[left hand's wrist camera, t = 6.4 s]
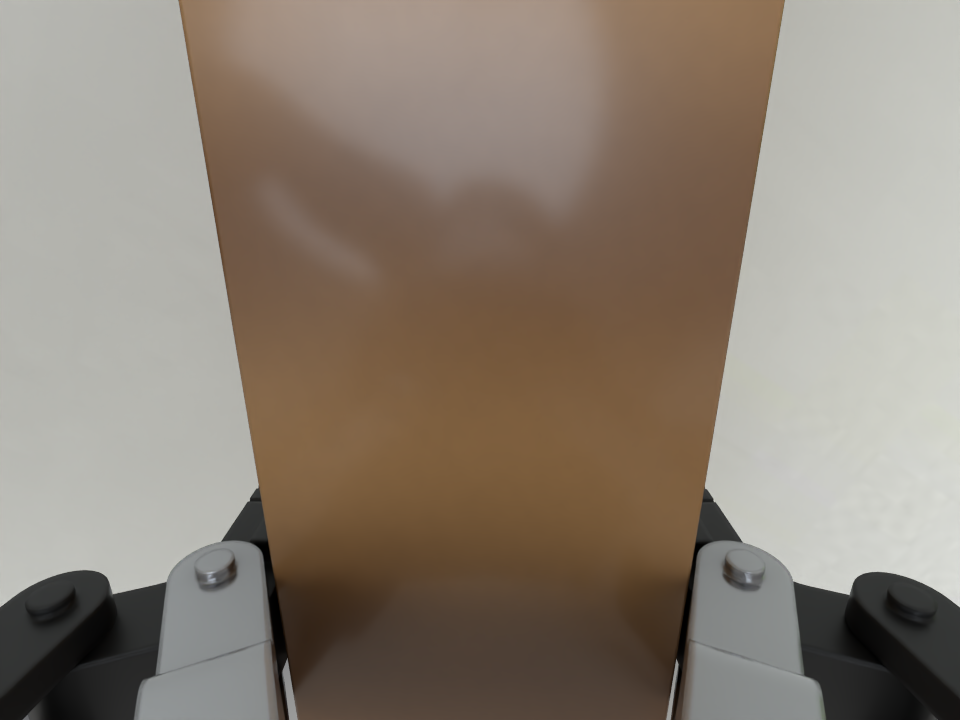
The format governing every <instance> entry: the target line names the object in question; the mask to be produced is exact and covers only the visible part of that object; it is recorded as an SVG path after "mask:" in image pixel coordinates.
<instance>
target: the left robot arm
mask: <svg viewBox="0 0 960 720" xmlns="http://www.w3.org/2000/svg"><path fill="white" fill-rule="evenodd" d="M287 658H288V657H287V651H286V645H285V639H284V633H283V627H282V621H281V615H280V609H279V603H278V597H277V591H276V585H275V579H274V573H273V567H272V561H271V555H270V549H269V543H268V537H267V531H266V525H265V519H264V512H263V506H262V500H261V494H260V488H258V489H256V490H255V492H254V493H253V495H252V496H251V498H250V502H247V504H246V505H245V507H244V508H243V510H242V511H241V513H240V514H239V516H238V517H237V519H236V520H235V522H234V523H233V525H232V526H231V528H230V529H229V531H228V532H227V534H226V535H225V537H224V538H223V540H222V541H221V542H218V543H214V544H211V545H208V546H205V547H203V548H200V549H198V550H196V551H194V552H193V553H191V554H189V555H188V556H186V557H185V558H184V559H182V560H181V561H180V562H179V563H178V564H177V565H176V566H175V567H174V568H173V570H172V571H171V572H170V574H169V576H168V579H167V582H165V583H161V584H157V585H153V586H149V587H144V588H140V589H135V590H131V591H126V592H122V593H117V594H112V590H111V587H110V584H109V581H108V579H107V577H106V576H104V575H103V574H101V573H99V572H95V571H88V570H82V571H72V572H67V573H63V574H59V575H56V576H53V577H50V578H47V579H45V580H43V581H40V582H38V583H36V584H34V585H32V586H30V587H28V588H27V589H25V590H23V591H22V592H20V593H19V594H17V595H16V596H15V597H13V598H12V599H11V600H9V601H8V602H7V603H5V604H4V605H3V606H2V607H0V720H23V719H24V718H25V717H26V716H27V715H28V717H29V719H30V720H289V715H288V707H287V699H286V691H285V683H284V677H283V668H284V665H285V663H286V660H287ZM676 659H677V661H678V664H679V665H678V671H677V677H676V683H675V691H674V699H673V707H672V715H671V720H960V607H958V606H957V605H956V604H955V603H953V602H952V601H951V600H949V599H948V598H947V597H945V596H944V595H942V594H941V593H939V592H938V591H936V590H934V589H933V588H931V587H929V586H927V585H925V584H923V583H920V582H918V581H915V580H913V579H910V578H907V577H904V576H900V575H896V574H891V573H885V572H870V573H865V574H862V575H860V576H858V577H857V578H856V579H855V581H854V583H853V586H852V589H851V592H850V595H846V594H842V593H837V592H833V591H828V590H824V589H819V588H815V587H810V586H806V585H803V584H799V583H796V582H793V579H792V576H791V574H790V572H789V571H788V570H787V568H786V567H785V566H784V565H783V564H782V563H781V562H780V561H779V560H778V559H776V558H775V557H774V556H772V555H771V554H769V553H767V552H766V551H764V550H762V549H760V548H757V547H755V546H752V545H749V544H746V543H743V542H742V541H741V539H740V538H739V536H738V535H737V533H736V532H735V530H734V529H733V527H732V526H731V524H730V523H729V521H728V520H727V518H726V517H725V515H724V514H723V512H722V511H721V510H720V508H719V507H718V505H717V504H716V502H714V501H713V498H712V496H711V495H710V493H709V492H708V490H707V489H705V487H704V493H703V499H702V505H701V511H700V517H699V523H698V530H697V536H696V542H695V548H694V554H693V560H692V566H691V572H690V578H689V584H688V590H687V596H686V602H685V608H684V614H683V621H682V627H681V633H680V639H679V645H678V651H677V657H676Z"/></svg>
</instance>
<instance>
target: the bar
mask: <svg viewBox="0 0 960 720" xmlns="http://www.w3.org/2000/svg"><path fill="white" fill-rule="evenodd" d="M784 2H785V0H179V6H180V12H181V18H182V24H183V30H184V36H185V42H186V48H187V54H188V60H189V66H190V72H191V78H192V84H193V90H194V96H195V102H196V108H197V114H198V120H199V126H200V132H201V138H202V144H203V150H204V157H205V163H206V169H207V175H208V181H209V187H210V193H211V199H212V205H213V211H214V217H215V223H216V229H217V235H218V241H219V247H220V253H221V259H222V265H223V271H224V277H225V283H226V289H227V295H228V301H229V307H230V313H231V319H232V325H233V331H234V338H235V344H236V350H237V356H238V362H239V368H240V374H241V380H242V386H243V392H244V398H245V404H246V410H247V416H248V422H249V428H250V434H251V440H252V446H253V452H254V458H255V464H256V470H257V476H258V482H259V488H260V494H261V500H262V506H263V512H264V519H265V525H266V531H267V537H268V543H269V549H270V555H271V561H272V567H273V573H274V579H275V585H276V591H277V597H278V603H279V609H280V615H281V621H282V627H283V633H284V639H285V645H286V651H287V657H288V663H289V669H290V675H291V681H292V687H293V693H294V700H295V706H296V712H297V718H298V720H666V718H667V711H668V705H669V699H670V693H671V687H672V681H673V675H674V669H675V663H676V657H677V651H678V645H679V639H680V633H681V627H682V621H683V614H684V608H685V602H686V596H687V590H688V584H689V578H690V572H691V566H692V560H693V554H694V548H695V542H696V536H697V530H698V523H699V517H700V511H701V505H702V499H703V493H704V487H705V481H706V475H707V469H708V463H709V457H710V451H711V445H712V439H713V432H714V426H715V420H716V414H717V408H718V402H719V396H720V390H721V384H722V378H723V372H724V366H725V360H726V354H727V348H728V341H729V335H730V329H731V323H732V317H733V311H734V305H735V299H736V293H737V287H738V281H739V275H740V269H741V263H742V257H743V250H744V244H745V238H746V232H747V226H748V220H749V214H750V208H751V202H752V196H753V190H754V184H755V178H756V172H757V166H758V159H759V153H760V147H761V141H762V135H763V129H764V123H765V117H766V111H767V105H768V99H769V93H770V87H771V81H772V75H773V68H774V62H775V56H776V50H777V44H778V38H779V32H780V26H781V20H782V14H783V8H784Z"/></svg>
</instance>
